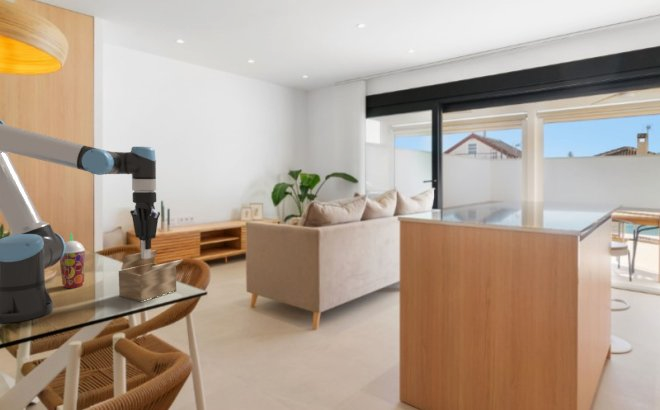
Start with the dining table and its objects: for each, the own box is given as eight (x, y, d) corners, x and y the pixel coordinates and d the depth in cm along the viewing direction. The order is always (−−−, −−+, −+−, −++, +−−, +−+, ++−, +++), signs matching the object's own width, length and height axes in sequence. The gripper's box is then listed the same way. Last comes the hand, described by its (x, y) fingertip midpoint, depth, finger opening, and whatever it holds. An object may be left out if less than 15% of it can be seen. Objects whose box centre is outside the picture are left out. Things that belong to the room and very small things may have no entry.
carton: (142, 302, 130) (141, 275, 130) (119, 296, 136) (118, 271, 135) (176, 291, 143) (175, 267, 142) (154, 286, 148) (153, 263, 148)
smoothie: (63, 284, 150) (61, 232, 148) (88, 282, 153) (86, 231, 151) (57, 290, 142) (54, 235, 141) (83, 288, 145) (81, 234, 144)
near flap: (143, 274, 130) (152, 267, 128) (143, 273, 130) (152, 266, 128) (174, 267, 141) (183, 260, 139) (174, 266, 141) (183, 259, 139)
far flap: (121, 269, 136) (125, 256, 134) (121, 269, 136) (124, 255, 134) (153, 262, 147) (157, 250, 145) (152, 262, 147) (156, 249, 145)
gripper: (166, 191, 137) (167, 258, 139) (141, 190, 143) (143, 254, 145) (147, 192, 131) (148, 262, 132) (122, 191, 137) (124, 257, 139)
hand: (146, 257), depth 139 cm, fingers closed
